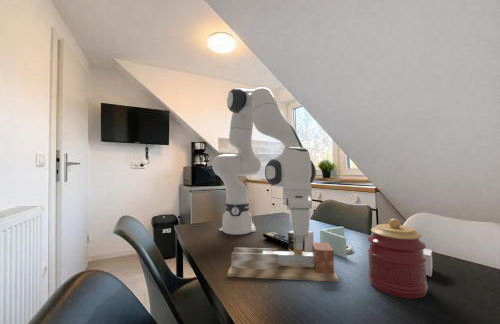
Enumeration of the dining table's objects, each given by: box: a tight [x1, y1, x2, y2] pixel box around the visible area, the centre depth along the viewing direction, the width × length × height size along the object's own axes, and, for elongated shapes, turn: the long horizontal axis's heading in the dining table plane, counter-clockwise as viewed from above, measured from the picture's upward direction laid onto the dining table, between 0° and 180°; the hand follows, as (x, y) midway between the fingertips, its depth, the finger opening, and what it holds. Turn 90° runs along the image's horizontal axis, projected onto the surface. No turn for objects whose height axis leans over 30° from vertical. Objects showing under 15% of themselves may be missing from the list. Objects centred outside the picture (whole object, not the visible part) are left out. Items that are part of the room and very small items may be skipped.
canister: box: [367, 218, 428, 300], centre depth 60 cm, size 13×13×18 cm
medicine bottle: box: [287, 229, 315, 252], centre depth 87 cm, size 7×7×12 cm
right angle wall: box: [319, 226, 354, 259], centre depth 87 cm, size 12×12×8 cm
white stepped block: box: [262, 236, 315, 267], centre depth 70 cm, size 18×3×9 cm, turn 83°
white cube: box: [423, 248, 433, 277], centre depth 69 cm, size 6×6×6 cm
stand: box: [227, 242, 339, 283], centre depth 70 cm, size 31×12×8 cm, turn 83°
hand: (297, 243), depth 70 cm, fingers open, 8 cm apart
